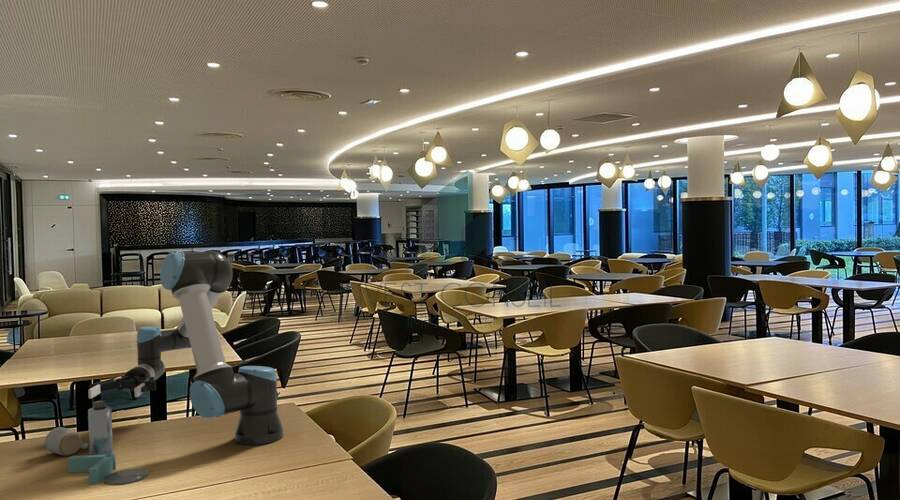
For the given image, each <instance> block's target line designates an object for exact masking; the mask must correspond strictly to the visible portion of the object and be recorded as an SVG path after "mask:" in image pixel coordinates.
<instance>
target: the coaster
mask: <svg viewBox="0 0 900 500" xmlns="http://www.w3.org/2000/svg"><path fill="white" fill-rule="evenodd" d="M148 476H149V470H148V469H145V468H136V467H135V468H127V469H122V470H121V469H120V470H117V471H114V472H110V473H109V474H108V475H107V476H106V477H105V478H103V482H104V483H105V484H106V485H111V486H116V485H118V486H119V485H120V486H121V485H128V484H131V483H136V482H140V481H141V480H143V479H146V478H147V477H148Z"/></svg>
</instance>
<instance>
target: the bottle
mask: <svg viewBox="0 0 900 500" xmlns="http://www.w3.org/2000/svg"><path fill="white" fill-rule="evenodd" d="M106 402H107V401H106V400H96V401H93V402H92V403H93V404H92V405H93V407H91V408H89V409H87V420H88V423H87V424H88V445H89V446H88V448H89V450H88V451H89V455H105V454H114V451H113V449H114V448H113V447H114V446H113V445H114V444H113V420H112V419H113V418H112V406H110V405H107V403H106Z"/></svg>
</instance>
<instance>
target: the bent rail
mask: <svg viewBox="0 0 900 500" xmlns="http://www.w3.org/2000/svg"><path fill="white" fill-rule="evenodd" d="M116 461H117V459H116V453H113V454H105V455H90V454H89V455H87V454H86V455H70V456H69V457H68V458H67V464H68V467H67V468H68V469H67V470H68V473H86V472H88V477H89V478H88V480H89V482H88V483H89V484H88V485H98V484H99V483H100V482H101V481H102V480H104V478H105V477H106V476H107V475H109V474H111V473H113V471H115V470H116V468H117V462H116Z"/></svg>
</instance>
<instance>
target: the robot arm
mask: <svg viewBox="0 0 900 500" xmlns="http://www.w3.org/2000/svg"><path fill="white" fill-rule="evenodd" d="M233 274H234V273H233V267H232V264H231V262H230V261H229V259H228V258H227V257H226V256H225V255H223V254H222V253H221V252H218V251H214V250H213V251H212V250H207V251H179V252H171V253H169V254H166V256H165V257H164V258H163V260H162V263H161V267H160V274H159V275H160V276H159V278H160V283H161V287H163V289H165V290H167V291H171V295H172V298H174V299H176V300H177V301H178V302H179V307H180V309H181V313H182V317H181V320H180V321H179V323H178V325H177V326H176V328H173V329H167V330H161V327H159V326H156V325H152V326H151V325H150V326H142V327H140V328H139V327H138V329H137V333H136V347H137V348H136V349H137V351H136V353H137V365H136V366H134V367H132V368H131V369H129V370H128V371H127V372H126V373H125V374H124V376H123V377H119V378H116V377H111V378H108V379H105V380H101V381H97V382H94V383H90V384H89V389H88V391H87V392H88V399H93V398H95V397H97V396H98V395H100V394H101V393H102V392H107V391H111V390H115V389H116V390H119V391H120V390H123V389H126V390H127V389H128V390H130V391H132V392H134V398H138V397H140V396H141V395H143V394H144V393H146V392H150V390H151V391H154V392H155V391H156V390H157V382H156V381H157V380H158V379H159V378H161V376H162V375H163V374H164V373H165V370H166V369H165V367H166V366H165V363H164V362H163V361H162V358H161V357H162V353H163V352H169V351H175V350H176V351H177V350H184V349H190V348H191V352H192V356H193V360H194V363H195V367H196V373H195V375H194V376H193V383H192V384H191V385H190V386H189V392H190V393H189V399H190V402H191V405H192V407H193V409H194V411H195V412H196V413H197V414H198V415H199V416H200V417H202V418H204V419H211V418H218V417H219V418H220V417H221V416H225V415H228V414H233V413H236V412H237V413H238V412H239V419H238V422H237V425H236V428H235V432H234V441H235V442H236V443H238V444H240V445H249V446H250V445H252V446H255V445H265V444H270V443H273V442H277V441H278V440H281V439H282V438H283V437H284V426H283V425H282V421H281V418H280V416H279V413H278V392H277V391H278V390H277V382H278V380H277V379H278V378H277V372H276V370H275V369H274V368H273V367H271V366H262V365H245V366H240V367H239V368H238V371H237V372H238V373H234V369H233V366H232V365H230V364H228V363H227V362H226V359H225V356H224V352H223V348H222V343H221V340H220V337H219V334H218V329H217V326H216V321H215V317H214V314H213V311H212V310H213V308H214V306H215V305H216V303H217V301H218V300H219V299H220V296H221V295H222V294H223V293H225V292H227V290H228V288H229V287H230V285H231V283H232V280H233Z"/></svg>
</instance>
